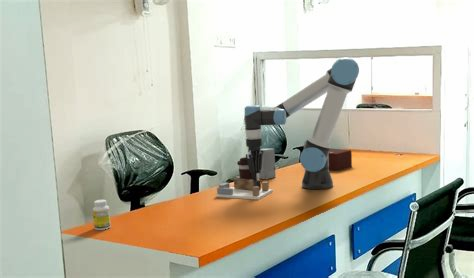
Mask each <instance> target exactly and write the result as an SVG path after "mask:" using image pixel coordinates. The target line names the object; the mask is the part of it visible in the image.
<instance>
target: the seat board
mask: <svg viewBox="0 0 474 278" xmlns="http://www.w3.org/2000/svg"><path fill="white" fill-rule="evenodd" d="M269 185H270V184H269V181H262V182H261V190H259V187H258V186H254V187H252V190H244V189H235V188H234V186H230V182H223V183H220V184H218V187H217V188H216V195H215V196H216V198H228V199H229V198H230V199H231V198H232V199H243V200H244V199H245V200H261V199H262V198H265V197H266V196H267V195H270V194H271V193H273V189H270V186H269Z"/></svg>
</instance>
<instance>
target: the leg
mask: <svg viewBox="0 0 474 278" xmlns="http://www.w3.org/2000/svg"><path fill="white" fill-rule="evenodd" d="M235 178H236V179H235ZM235 178H233V187H234V188H235V189H244V190H252V187H254V186H258V187H259V190H261V189H262V182H261V179H259V180H251V179H240V177H237V176H236V177H235Z"/></svg>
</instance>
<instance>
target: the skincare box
mask: <svg viewBox="0 0 474 278" xmlns="http://www.w3.org/2000/svg"><path fill="white" fill-rule="evenodd" d="M260 150H263V155H262V168H261V173H259V179H260V180H261V179H263V180H269V179H273V178H276V157H275V148H267V147H266V148H260Z"/></svg>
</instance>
